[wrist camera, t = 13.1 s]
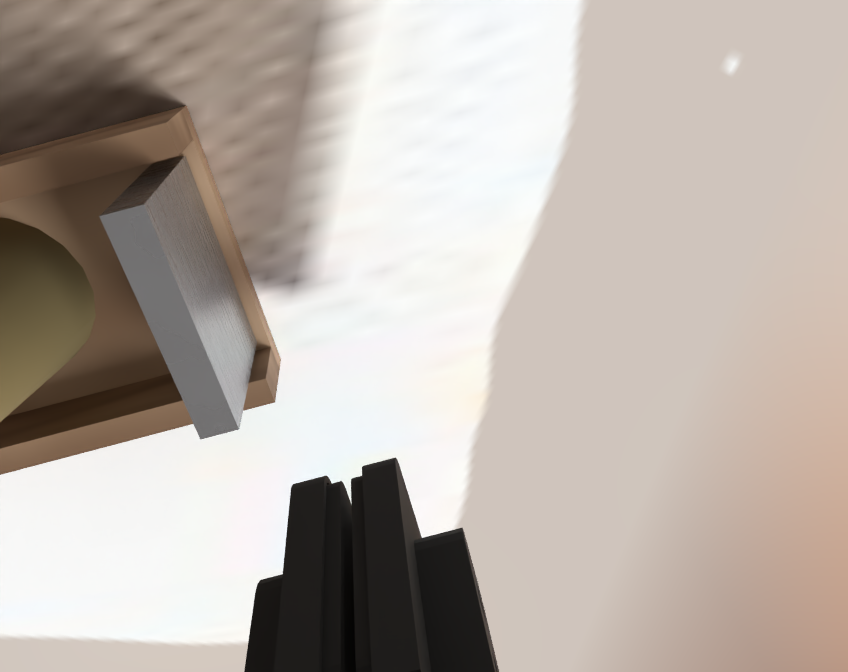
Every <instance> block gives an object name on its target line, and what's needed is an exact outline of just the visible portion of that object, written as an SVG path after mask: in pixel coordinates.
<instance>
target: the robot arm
mask: <svg viewBox="0 0 848 672" xmlns="http://www.w3.org/2000/svg"><path fill="white" fill-rule="evenodd" d="M351 498H352V505H351V502H350V500H349V497H348V494H347V491H346V488H345V486H344V484H343V482H342V481H340V482H337V483H333V484H331V481H330V479H329V478H328V477H327V476H323V477H319V478H315V479H312V480H308V481H304V482H300V483H296V484H293V485H292V488H291V496H290V506H289V516H288V527H287V537H286V547H285V558H284V568H283V574H282V575H278V576H274V577H271V578H267V579H263V580H260V582H259V583H258V585H257V589H256V593H255V600H254V607H253V614H252V621H251V628H250V635H249V643H248V650H247V657H246V664H245V672H499V669H498V666H497V661H496V657H495V652H494V648H493V644H492V640H491V636H490V631H489V627H488V623H487V619H486V615H485V610H484V606H483V603H482V598H481V594H480V590H479V586H478V583H477V579H476V575H475V571H474V567H473V564H472V560H471V556H470V553H469V549H468V545H467V542H466V538H465V535H464V531H463V528H459V529H455V530H452V531H448V532H444V533H440V534H436V535H432V536H429V537H425V538H422V537H421V534H420V531H419V528H418V525H417V521H416V518H415V515H414V512H413V508H412V505H411V502H410V499H409V495H408V492H407V489H406V486H405V482H404V479H403V476H402V473H401V469H400V466H399V463H398V461H397V459H396V458H392V459H388V460H385V461H381V462H377V463H373V464H369V465H365V466H363V467H362V476H360V477H356V478H352V479H351Z"/></svg>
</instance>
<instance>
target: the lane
mask: <svg viewBox="0 0 848 672" xmlns="http://www.w3.org/2000/svg"><path fill="white" fill-rule="evenodd" d="M181 156H186V158H187V161H188V163H189V166H190V169H191V171H192V174H193V177H194V179H195V182H196V184H197V187H198V190H199V192H200V195H201V197H202V200H203V203H204V205H205V208H206V210H207V213H208V216H209V218H210V221H211V223H212V226H213V229H214V231H215V234H216V236H217V239H218V242H219V244H220V247H221V249H222V252H223V255H224V257H225V260H226V262H227V265H228V268H229V270H230V273H231V275H232V278H233V281H234V283H235V286H236V289H237V291H238V294H239V296H240V299H241V302H242V304H243V307H244V309H245V312H246V315H247V317H248V320H249V322H250V325H251V328H252V330H253V333H254V335H255V338H256V341H257V345H256V350H255V355H254V359H253V364H252V369H251V374H250V379H249V383H248V388H247V393H246V398H245V403H244V407H243V410H247V409H251V408H255V407H259V406H262V405H266V404H270V403H274V402H275V398H276V391H277V383H278V376H279V369H280V361H281V359H280V356H279V353H278V351H277V348H276V345H275V343H274V340H273V337H272V335H271V332H270V329H269V327H268V324H267V321H266V318H265V316H264V313H263V310H262V308H261V305H260V302H259V300H258V297H257V294H256V292H255V289H254V286H253V284H252V281H251V278H250V275H249V273H248V270H247V267H246V265H245V262H244V259H243V257H242V254H241V251H240V249H239V246H238V243H237V240H236V238H235V235H234V232H233V230H232V227H231V224H230V222H229V219H228V216H227V214H226V211H225V208H224V206H223V203H222V200H221V197H220V195H219V192H218V189H217V187H216V184H215V181H214V179H213V176H212V173H211V171H210V168H209V165H208V162H207V160H206V157H205V154H204V152H203V149H202V146H201V144H200V141H199V138H198V136H197V133H196V130H195V127H194V125H193V122H192V119H191V117H190V114H189V111H188V109H187V106H183V107H179V108H176V109H172V110H168V111H164V112H160V113H157V114H153V115H149V116H145V117H141V118H138V119H134V120H130V121H126V122H123V123H119V124H115V125H111V126H107V127H104V128H100V129H96V130H92V131H89V132H85V133H81V134H77V135H73V136H70V137H66V138H62V139H58V140H55V141H51V142H47V143H43V144H39V145H36V146H32V147H28V148H24V149H21V150H17V151H13V152H9V153H5V154H2V155H0V218H9V219H12V220H15V221H18V222H21V223H23V224H26V225H29V226H32V227H35V228H38V229H40V230H41V231H43V232H44V233H46V234H47V235H49V236H50V237H51V238H53V239H54V240H56V241H57V242H59V243H60V244H62V245H63V246H64V247H65V248H66V249H67V250H68V251H69V252H70V254H71V255H72V256H73V257H74V258H75V259H76V260H77V262H78V263H79V264H80V265H81V266H82V267H83V269H84V272H85V274H86V276H87V278H88V281H89V283H90V285H91V287H92V289H93V292H94V303H95V314H96V317H95V320H94V323H93V327H92V330H91V334H90V337H89V339H88V340H87V341H86V343H85V344H84V345H83V346H82V348H81V349H80V350H79V351H78V353H77V354H76V355H75V356H74V357H73V358H72V359H71V360H70V361H69V362H67V363H66V364H65V365H64V366H63V367H62V368H61V369H60V370H58V371H57V372H56V373H55V374H54V375H53V376H52V377H51V378H49V379H48V380H47V381H46V382H45V383H44V384H43V385H42V386H40V387H39V388H38V389H37V390H36V391H35V392H34V393H33V394H31V395H30V396H29V397H28V398H27V399H26V400H25V401H23V402H22V403H21V404H20V405H19V406H18V407H17V408H16V409H14V410H13V411H12V412H11V413H10V414H9V415H8V416H7V417H5V418H4V419H3V420H2V421H1V422H0V475H1V474H5V473H8V472H12V471H16V470H20V469H23V468H27V467H31V466H35V465H39V464H42V463H46V462H50V461H54V460H58V459H61V458H65V457H69V456H73V455H77V454H80V453H84V452H88V451H92V450H96V449H99V448H103V447H107V446H111V445H115V444H118V443H122V442H126V441H130V440H133V439H137V438H141V437H145V436H149V435H152V434H156V433H160V432H164V431H168V430H171V429H175V428H179V427H183V426H187V425H190V424H193V421H192V419H191V417H190V415H189V413H188V410H187V408H186V406H185V404H184V402H183V400H182V397H181V395H180V393H179V391H178V389H177V386H176V384H175V382H174V380H173V378H172V375H171V373H170V371H169V369H168V367H167V364H166V362H165V360H164V358H163V356H162V353H161V351H160V349H159V347H158V345H157V342H156V340H155V338H154V336H153V334H152V331H151V329H150V327H149V325H148V323H147V320H146V318H145V316H144V314H143V312H142V309H141V307H140V305H139V303H138V301H137V298H136V296H135V294H134V292H133V290H132V287H131V285H130V283H129V281H128V279H127V276H126V274H125V272H124V270H123V268H122V265H121V263H120V261H119V259H118V257H117V254H116V252H115V250H114V248H113V246H112V243H111V241H110V239H109V237H108V235H107V232H106V230H105V228H104V226H103V224H102V221H101V219H100V217H99V216H100V215H101V214H102V213H103V212H104V211H105V210H106V209H107V208H108V207H109V206H110V205H111V204H112V203H113V202H114V201H115V200H116V199H117V198H118V197H119V196H120V195H121V194H122V193H123V192H124V191H125V190H126V189H127V188H128V187H129V186H130V185H131V184H132V183H133V182H134V181H135V180H136V179H137V178H138V177H139V176H140V175H141V174H142V173H143V172H144V171H145V170H146V169H147V168H148V167H149V166H150V165H151V164H155V163H159V162H162V161H166V160H170V159H174V158H177V157H181Z"/></svg>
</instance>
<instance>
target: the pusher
mask: <svg viewBox="0 0 848 672" xmlns="http://www.w3.org/2000/svg"><path fill="white" fill-rule="evenodd" d="M99 217H100V219H101V221H102V224H103V226H104V228H105V230H106V232H107V235H108V237H109V239H110V241H111V243H112V246H113V248H114V250H115V252H116V254H117V257H118V259H119V261H120V263H121V265H122V268H123V270H124V272H125V274H126V276H127V279H128V281H129V283H130V285H131V287H132V290H133V292H134V294H135V296H136V298H137V301H138V303H139V305H140V307H141V309H142V312H143V314H144V316H145V318H146V320H147V323H148V325H149V327H150V329H151V331H152V334H153V336H154V338H155V340H156V342H157V345H158V347H159V349H160V351H161V353H162V356H163V358H164V360H165V362H166V364H167V367H168V369H169V371H170V373H171V375H172V378H173V380H174V382H175V384H176V386H177V389H178V391H179V393H180V395H181V397H182V400H183V402H184V404H185V406H186V408H187V410H188V413H189V415H190V417H191V419H192V421H193V424H194V426H195V428H196V430H197V432H198V435H199V437H200V439H204V438H208V437H212V436H215V435H219V434H223V433H227V432H230V431H234V430H238V429H239V427H240V422H241V417H242V412H243V407H244V403H245V398H246V393H247V388H248V383H249V379H250V374H251V369H252V364H253V359H254V355H255V350H256V345H257V341H256V338H255V335H254V333H253V330H252V328H251V325H250V322H249V320H248V317H247V315H246V312H245V309H244V307H243V304H242V302H241V299H240V296H239V294H238V291H237V289H236V286H235V283H234V281H233V278H232V275H231V273H230V270H229V268H228V265H227V262H226V260H225V257H224V255H223V252H222V249H221V247H220V244H219V242H218V239H217V236H216V234H215V231H214V229H213V226H212V223H211V221H210V218H209V216H208V213H207V210H206V208H205V205H204V203H203V200H202V197H201V195H200V192H199V190H198V187H197V184H196V182H195V179H194V177H193V174H192V171H191V169H190V166H189V163H188V161H187V158H186V156H181V157H177V158H174V159H170V160H166V161H162V162H159V163H155V164H151V165H150V166H149V167H148V168H147V169H146V170H145V171H144V172H143V173H142V174H141V175H140V176H139V177H138V178H137V179H136V180H135V181H134V182H133V183H132V184H131V185H130V186H129V187H128V188H127V189H126V190H125V191H124V192H123V193H122V194H121V195H120V196H119V197H118V198H117V199H116V200H115V201H114V202H113V203H112V204H111V205H110V206H109V207H108V208H107V209H106V210H105V211H104V212H103V213H102V214H101V215H100V216H99Z"/></svg>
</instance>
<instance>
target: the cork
mask: <svg viewBox="0 0 848 672" xmlns="http://www.w3.org/2000/svg"><path fill="white" fill-rule="evenodd" d="M95 317H96V314H95V303H94V292H93V289H92V287H91V285H90V283H89V281H88V278H87V276H86V274H85V272H84V269H83V267H82V266H81V265H80V264H79V263H78V262H77V260H76V259H75V258H74V257H73V256H72V255H71V254H70V252H69V251H68V250H67V249H66V248H65V247H64V246H63V245H62V244H60V243H59V242H57V241H56V240H54V239H53V238H51V237H50V236H49V235H47V234H46V233H44V232H43V231H41V230H40V229H38V228H35V227H32V226H29V225H26V224H23V223H21V222H18V221H15V220H12V219H9V218H0V422H1V421H2V420H3V419H4V418H5V417H7V416H8V415H9V414H10V413H11V412H12V411H13V410H14V409H16V408H17V407H18V406H19V405H20V404H21V403H22V402H23V401H25V400H26V399H27V398H28V397H29V396H30V395H31V394H33V393H34V392H35V391H36V390H37V389H38V388H39V387H40V386H42V385H43V384H44V383H45V382H46V381H47V380H48V379H49V378H51V377H52V376H53V375H54V374H55V373H56V372H57V371H58V370H60V369H61V368H62V367H63V366H64V365H65V364H66V363H67V362H69V361H70V360H71V359H72V358H73V357H74V356H75V355H76V354H77V353H78V351H79V350H80V349H81V348H82V346H83V345H84V344H85V343H86V341H87V340H88V339H89V337H90V334H91V330H92V327H93V323H94V320H95Z"/></svg>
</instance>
